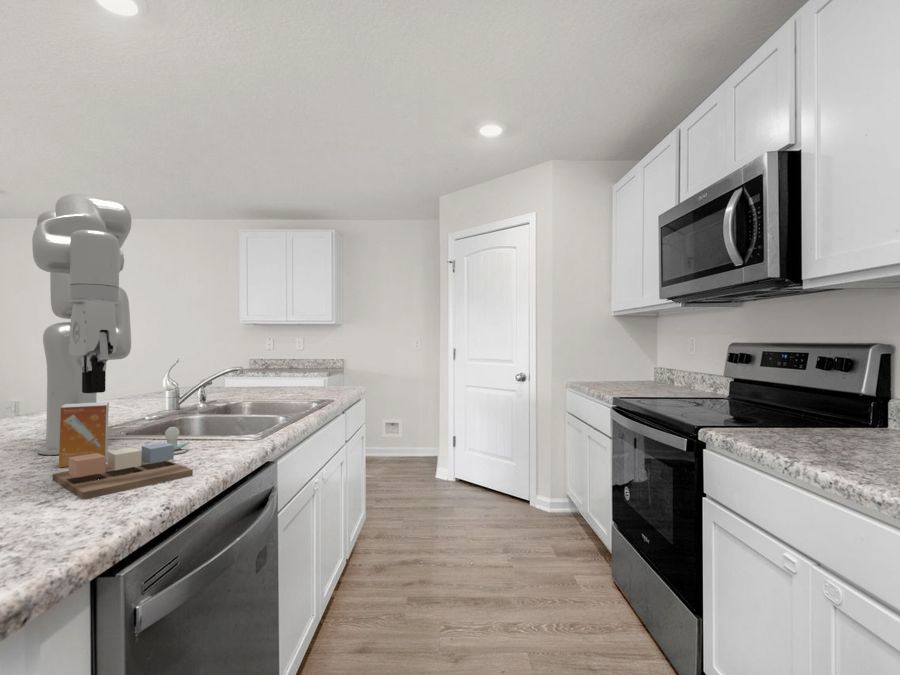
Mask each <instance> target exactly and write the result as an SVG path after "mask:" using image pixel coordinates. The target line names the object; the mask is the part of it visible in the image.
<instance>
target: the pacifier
mask: <svg viewBox="0 0 900 675" xmlns="http://www.w3.org/2000/svg"><path fill="white" fill-rule="evenodd" d="M164 436H165V438H166V443H168V444H172V445H174V455H179V454H184V453H186V452H187V450H186V449H184V448H185V447H186V446H188V445H189V444H190V441H189V440H188V441H185V442H183V443H181V444H178V438H179V436H180V430H179V429H178V427H177V426H169V427H168V428H166V430H165V432H164Z"/></svg>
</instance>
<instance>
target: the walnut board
mask: <svg viewBox="0 0 900 675" xmlns="http://www.w3.org/2000/svg"><path fill="white" fill-rule="evenodd" d="M123 474H124V475H123ZM193 474H194V471H193V468H191V467H187V466H184V465H181V464H180V463H176V462H174V461H172V460H168V461H163V462H157V463H152V464H149V463H147V462H144V461H142V460H141V466H136V467H131V468H125V469H120V470H113V469H111V468H109V467H107V463H105V472H104V473H99V474H94V475H88V476H83V477H78V478H76V477H74V476H72V475H70V474H69V470H68V471H61V472H55V473H52V478H51V479H52V481H53V482H55V483H56V484H58V485H60V486H61V487H62V486H63V487H62V488H64V489H65V490H67V489H68V491H69V492H70V491H71V492H70V493H71V494H73V493H74V494H73V495H75V496H77V497H78V498H80V499H81V500H87V499H92V498H96V497H101V496H106V495H110V494H115V493H118V492H123V491H128V490H132V489H136V488H140V487H141V488H142V487H146V486H151V485H154V484H159V483H160V484H161V483H163V482H164V483H165V482H169V481H174V480H177V479H182V478H186V477H191V476H192V477H193ZM118 475H119V476H118ZM113 476H114V477H113ZM97 479H99V480H97ZM92 480H93V481H92ZM87 481H88V482H87ZM82 482H83V483H82ZM77 483H78V484H77Z"/></svg>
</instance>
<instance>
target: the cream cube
mask: <svg viewBox="0 0 900 675" xmlns="http://www.w3.org/2000/svg"><path fill="white" fill-rule="evenodd" d="M141 452H142V449H138V448H135V447H126V448H121V449H113V450H108V451H107V458H106V464H107V467H109V468H111V469H113V470H120V469H125V468H131V467H136V466H141Z"/></svg>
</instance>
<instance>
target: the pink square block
mask: <svg viewBox="0 0 900 675" xmlns="http://www.w3.org/2000/svg"><path fill="white" fill-rule="evenodd" d="M105 459H106V460H107V458H106V456H103V455H101V454H99V453H94V454H88V455H81V456H75V457H69V466H68V471H69V474H70V475H72V476H74V477H76V478H78V477H83V476H88V475H94V474H99V473H104V472H105V465H106V461H105Z"/></svg>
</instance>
